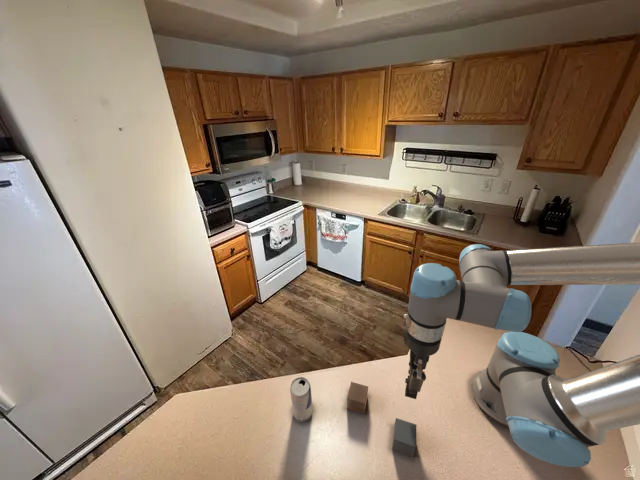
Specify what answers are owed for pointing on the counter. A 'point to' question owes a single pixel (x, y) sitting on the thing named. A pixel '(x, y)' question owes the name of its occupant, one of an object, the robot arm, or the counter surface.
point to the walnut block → (357, 397)
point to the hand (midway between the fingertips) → (410, 394)
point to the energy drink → (301, 399)
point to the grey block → (404, 437)
